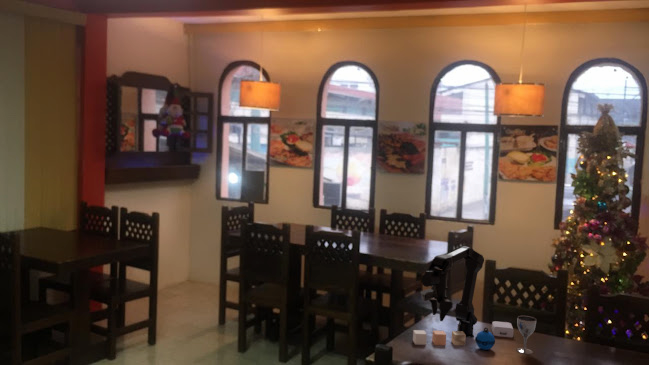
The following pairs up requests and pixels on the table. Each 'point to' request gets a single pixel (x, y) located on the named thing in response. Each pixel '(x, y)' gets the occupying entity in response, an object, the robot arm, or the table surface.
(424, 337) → the grey block
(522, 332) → the wine glass
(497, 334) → the charger
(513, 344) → the table surface
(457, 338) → the birch block
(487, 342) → the ornament
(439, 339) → the terracotta block
